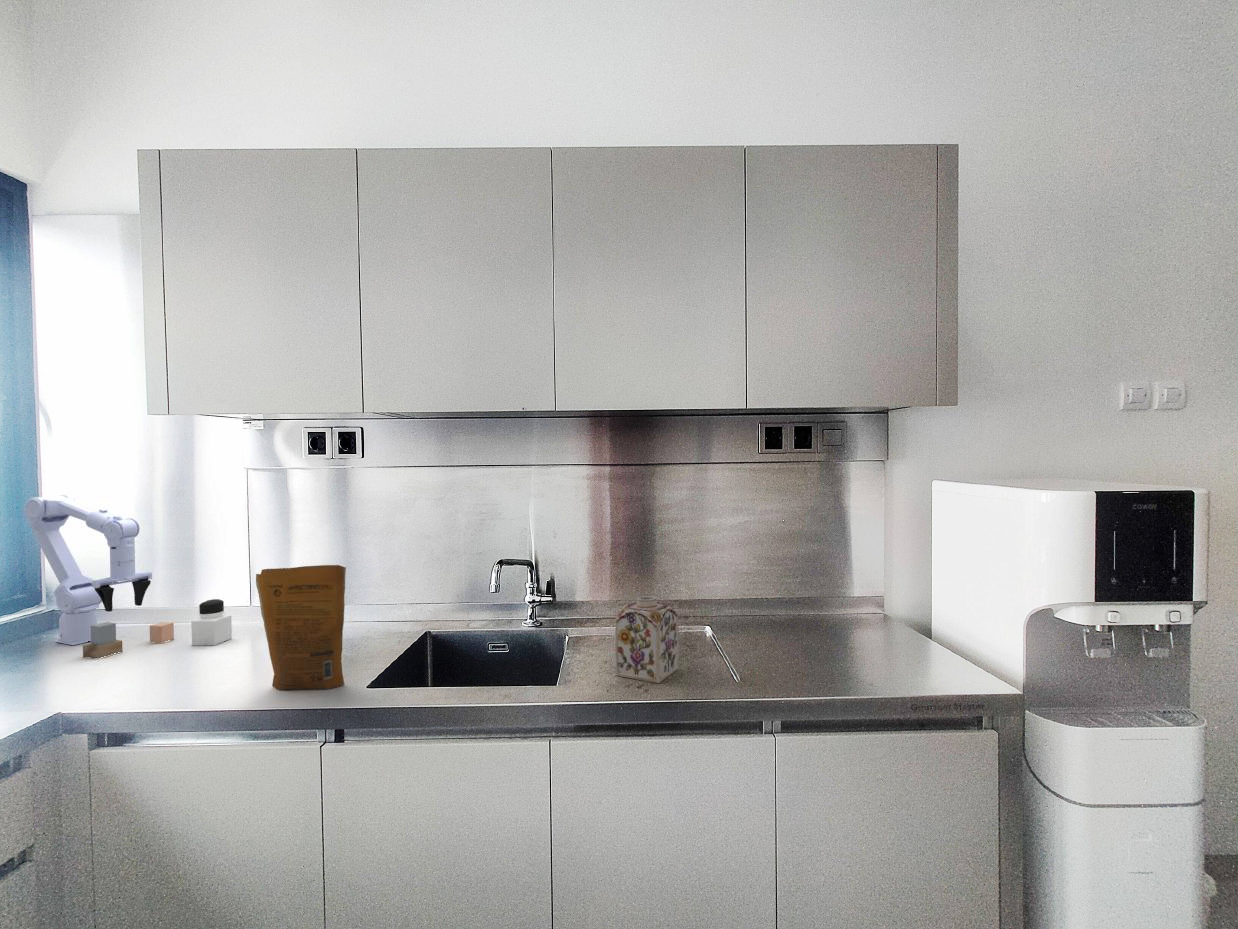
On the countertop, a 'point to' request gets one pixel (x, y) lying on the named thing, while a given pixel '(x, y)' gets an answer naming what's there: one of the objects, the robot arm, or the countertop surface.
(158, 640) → the terracotta block
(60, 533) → the robot arm
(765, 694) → the countertop surface
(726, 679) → the countertop surface
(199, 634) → the medicine bottle
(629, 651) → the decorative jar
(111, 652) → the walnut block
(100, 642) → the slate block
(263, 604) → the pancake mix bag
